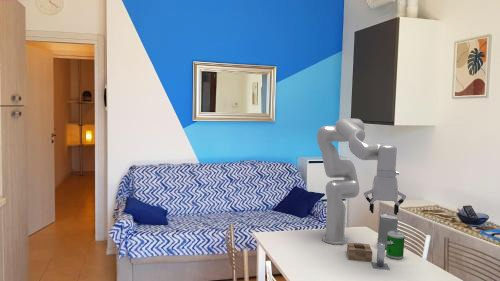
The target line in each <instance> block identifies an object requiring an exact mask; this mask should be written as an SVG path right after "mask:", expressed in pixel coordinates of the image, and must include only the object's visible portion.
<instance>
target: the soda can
mask: <svg viewBox="0 0 500 281" xmlns="http://www.w3.org/2000/svg"><path fill="white" fill-rule="evenodd" d="M405 236H406V235H405V234H404V233H403V231H400V230H397V231H396V230H391V231H389V232H388V233H387V248H386V249H385V254H386V255H385V256H387V257H388V258H390V259H394V260H400V259H403V258H404V252H405V251H404V250H405V238H406V237H405Z"/></svg>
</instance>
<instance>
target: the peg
mask: <svg viewBox="0 0 500 281" xmlns="http://www.w3.org/2000/svg"><path fill="white" fill-rule="evenodd" d="M376 251H377V252H376V253H377V254H376V263H377V266H378V267H384V263H385V256H386V255H385V254H386V249H385V243H382V242H379V243H378V245H377V250H376Z"/></svg>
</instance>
